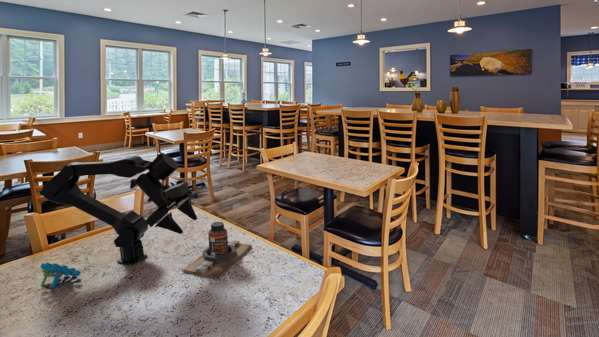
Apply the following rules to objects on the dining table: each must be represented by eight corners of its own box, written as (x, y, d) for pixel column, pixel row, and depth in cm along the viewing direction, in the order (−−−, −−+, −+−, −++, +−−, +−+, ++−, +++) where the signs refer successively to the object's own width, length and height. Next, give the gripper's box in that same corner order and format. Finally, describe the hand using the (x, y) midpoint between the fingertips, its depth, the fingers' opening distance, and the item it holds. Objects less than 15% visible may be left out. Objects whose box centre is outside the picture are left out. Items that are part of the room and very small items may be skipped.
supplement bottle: (215, 262, 105) (212, 228, 103) (206, 256, 109) (204, 223, 107) (231, 256, 109) (230, 223, 107) (222, 250, 113) (220, 218, 111)
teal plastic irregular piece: (89, 271, 99) (60, 260, 91) (80, 292, 95) (49, 282, 87) (61, 271, 102) (31, 260, 94) (52, 291, 99) (19, 282, 91)
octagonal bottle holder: (182, 272, 101) (182, 263, 101) (221, 242, 122) (221, 235, 121) (217, 278, 97) (217, 269, 97) (251, 247, 118) (251, 239, 117)
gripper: (152, 185, 93) (191, 226, 95) (185, 165, 111) (218, 200, 112) (129, 207, 97) (167, 246, 99) (165, 184, 114) (197, 218, 116)
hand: (189, 226), depth 106 cm, fingers open, 9 cm apart
